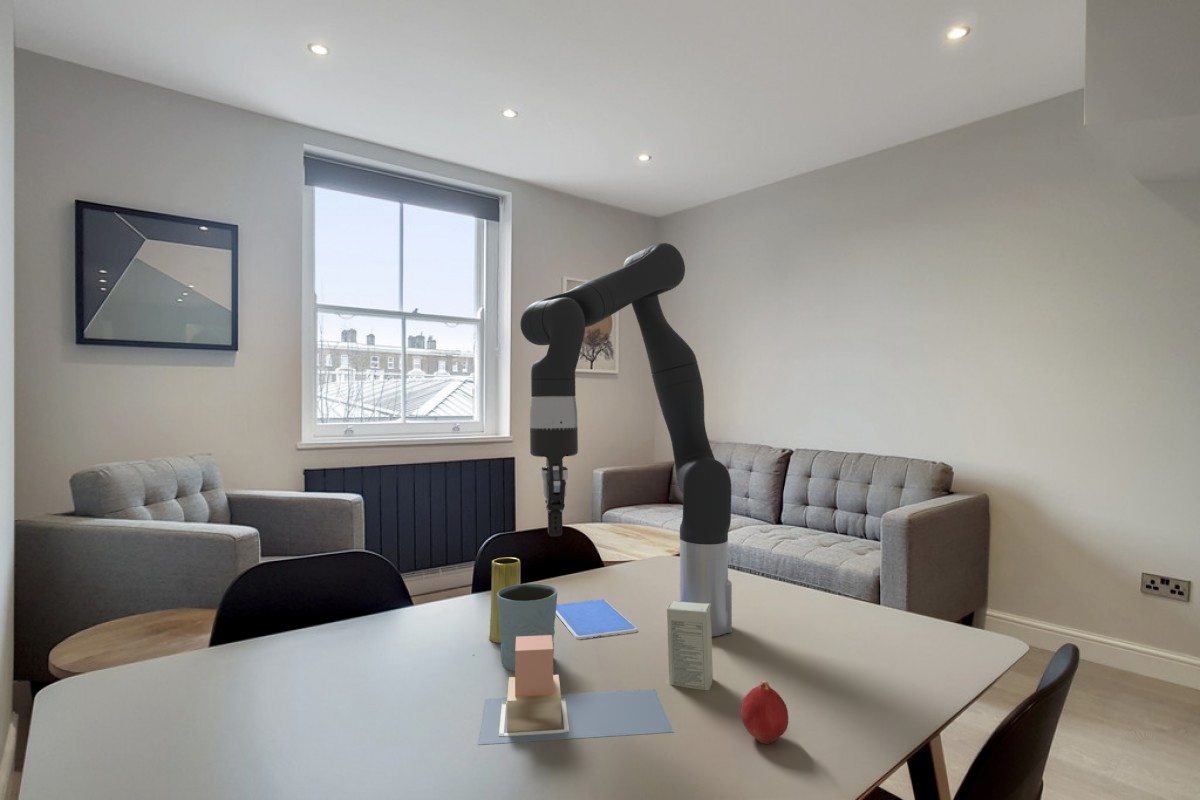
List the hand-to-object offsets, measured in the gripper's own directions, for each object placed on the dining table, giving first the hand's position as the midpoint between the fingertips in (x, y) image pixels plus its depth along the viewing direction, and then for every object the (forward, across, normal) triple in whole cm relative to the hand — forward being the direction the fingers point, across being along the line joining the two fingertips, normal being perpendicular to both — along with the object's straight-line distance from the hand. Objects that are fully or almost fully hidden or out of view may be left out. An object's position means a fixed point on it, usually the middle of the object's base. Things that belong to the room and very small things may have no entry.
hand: (555, 535), depth 95 cm
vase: (+23, +19, +8) cm, 31 cm away
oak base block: (+22, -12, +4) cm, 26 cm away
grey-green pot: (+23, +7, +4) cm, 24 cm away
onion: (+23, -22, -25) cm, 40 cm away
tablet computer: (+24, +26, -9) cm, 36 cm away
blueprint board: (+23, -12, -2) cm, 26 cm away
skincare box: (+23, -5, -20) cm, 31 cm away
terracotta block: (+18, -12, +4) cm, 22 cm away
